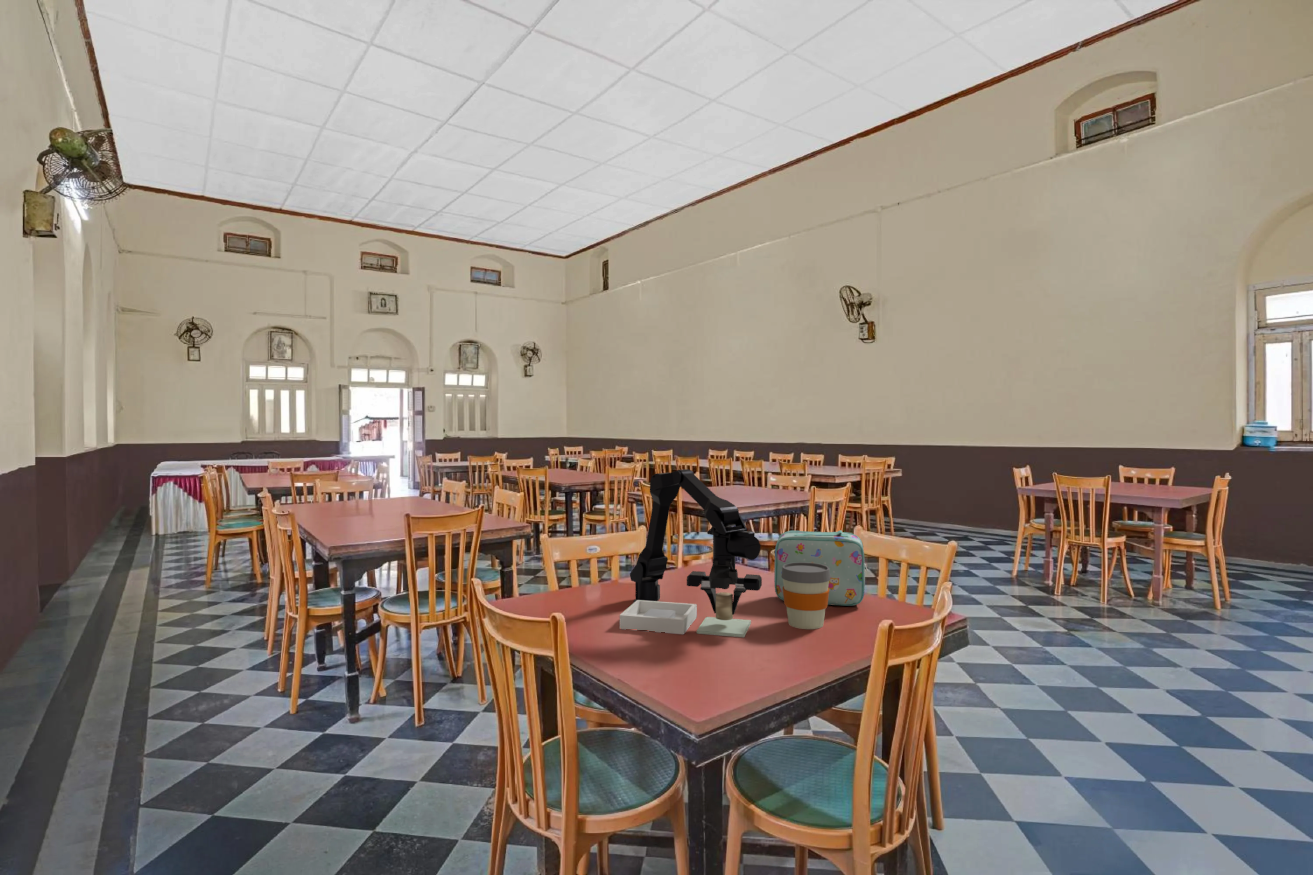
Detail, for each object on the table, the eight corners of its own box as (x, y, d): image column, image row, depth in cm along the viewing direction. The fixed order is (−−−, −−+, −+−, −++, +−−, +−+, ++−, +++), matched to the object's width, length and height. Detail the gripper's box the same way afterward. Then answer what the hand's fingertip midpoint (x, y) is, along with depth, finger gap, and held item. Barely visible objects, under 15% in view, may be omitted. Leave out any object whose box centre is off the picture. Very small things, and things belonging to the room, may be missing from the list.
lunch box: (867, 600, 197) (867, 528, 196) (869, 609, 187) (869, 534, 186) (776, 594, 204) (776, 525, 203) (773, 603, 194) (773, 530, 194)
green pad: (696, 633, 167) (696, 630, 167) (706, 619, 178) (706, 616, 178) (744, 637, 164) (744, 634, 164) (750, 622, 175) (750, 619, 175)
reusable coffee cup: (831, 632, 167) (831, 573, 166) (781, 629, 169) (781, 571, 169) (829, 618, 179) (829, 562, 179) (781, 615, 182) (781, 561, 181)
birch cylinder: (714, 619, 169) (714, 596, 169) (717, 614, 174) (717, 591, 173) (731, 620, 168) (731, 597, 168) (734, 615, 172) (734, 592, 172)
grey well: (619, 628, 171) (619, 615, 171) (637, 612, 185) (637, 599, 185) (683, 634, 166) (683, 620, 166) (696, 617, 181) (696, 604, 181)
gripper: (681, 557, 165) (681, 619, 166) (756, 561, 160) (756, 625, 161) (691, 549, 176) (691, 607, 177) (761, 552, 171) (762, 612, 171)
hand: (724, 613), depth 171 cm, fingers closed on birch cylinder, 4 cm apart
